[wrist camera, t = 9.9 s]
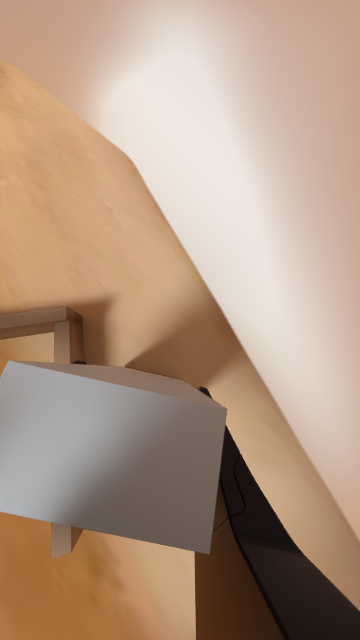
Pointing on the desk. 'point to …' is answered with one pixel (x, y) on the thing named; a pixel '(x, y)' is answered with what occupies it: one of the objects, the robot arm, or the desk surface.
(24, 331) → the wooden frame
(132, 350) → the desk surface
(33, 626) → the desk surface
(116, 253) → the desk surface
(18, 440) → the tall board
